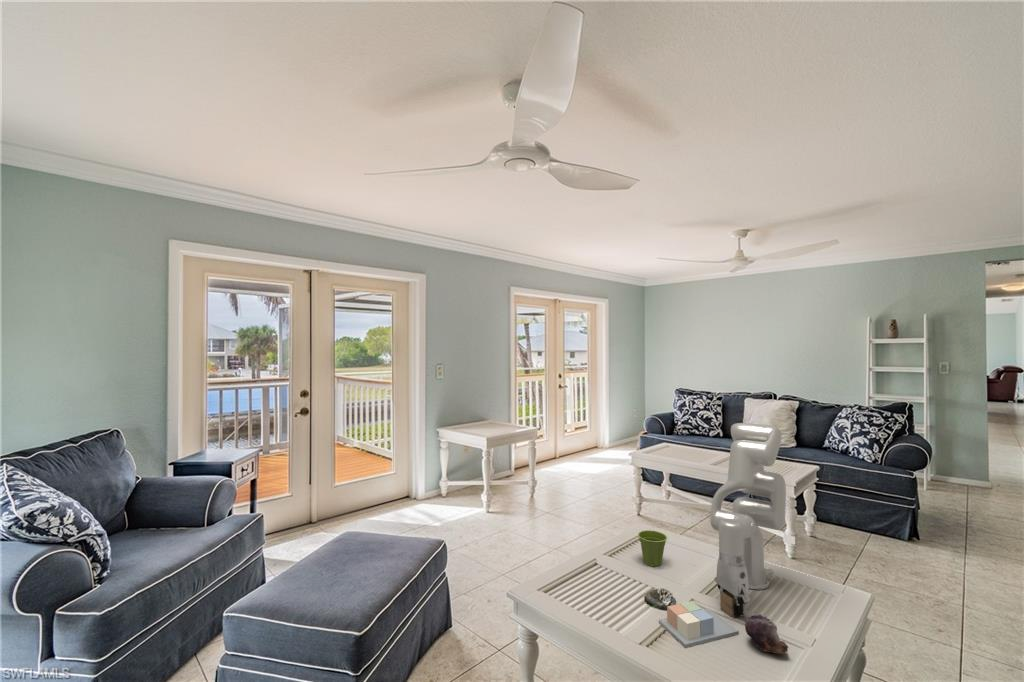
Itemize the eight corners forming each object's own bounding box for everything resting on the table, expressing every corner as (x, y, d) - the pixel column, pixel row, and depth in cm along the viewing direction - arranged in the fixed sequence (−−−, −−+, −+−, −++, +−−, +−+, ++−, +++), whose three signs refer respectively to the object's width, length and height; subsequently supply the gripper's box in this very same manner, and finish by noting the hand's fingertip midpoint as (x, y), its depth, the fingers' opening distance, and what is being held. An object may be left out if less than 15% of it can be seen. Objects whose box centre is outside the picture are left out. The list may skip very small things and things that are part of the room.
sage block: (692, 615, 152) (692, 601, 152) (702, 623, 147) (702, 608, 147) (680, 618, 150) (679, 603, 150) (690, 626, 146) (689, 611, 146)
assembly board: (708, 611, 156) (708, 608, 156) (738, 634, 143) (738, 631, 143) (658, 622, 149) (658, 619, 149) (685, 647, 137) (685, 644, 137)
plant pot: (671, 569, 185) (671, 541, 185) (642, 569, 185) (642, 541, 185) (662, 556, 197) (662, 529, 197) (634, 556, 197) (634, 529, 197)
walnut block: (732, 607, 158) (732, 589, 158) (743, 615, 153) (743, 597, 153) (720, 610, 157) (720, 592, 157) (731, 618, 152) (731, 600, 152)
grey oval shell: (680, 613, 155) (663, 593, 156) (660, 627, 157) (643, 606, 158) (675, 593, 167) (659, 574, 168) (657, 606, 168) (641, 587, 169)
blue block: (702, 624, 147) (702, 609, 147) (713, 633, 142) (713, 617, 142) (690, 627, 145) (690, 612, 145) (701, 636, 141) (700, 620, 141)
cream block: (689, 627, 145) (689, 612, 145) (700, 636, 141) (700, 620, 141) (677, 630, 144) (677, 615, 144) (687, 639, 139) (687, 623, 139)
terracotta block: (679, 618, 150) (679, 603, 150) (689, 627, 146) (689, 611, 146) (667, 621, 149) (667, 606, 149) (676, 630, 144) (676, 614, 144)
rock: (769, 639, 143) (737, 639, 142) (766, 609, 144) (735, 609, 144) (793, 658, 131) (759, 659, 131) (790, 626, 133) (757, 626, 132)
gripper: (760, 567, 148) (761, 623, 148) (721, 545, 164) (722, 596, 164) (742, 570, 146) (743, 628, 146) (704, 548, 162) (705, 599, 162)
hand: (732, 610), depth 155 cm, fingers open, 5 cm apart
